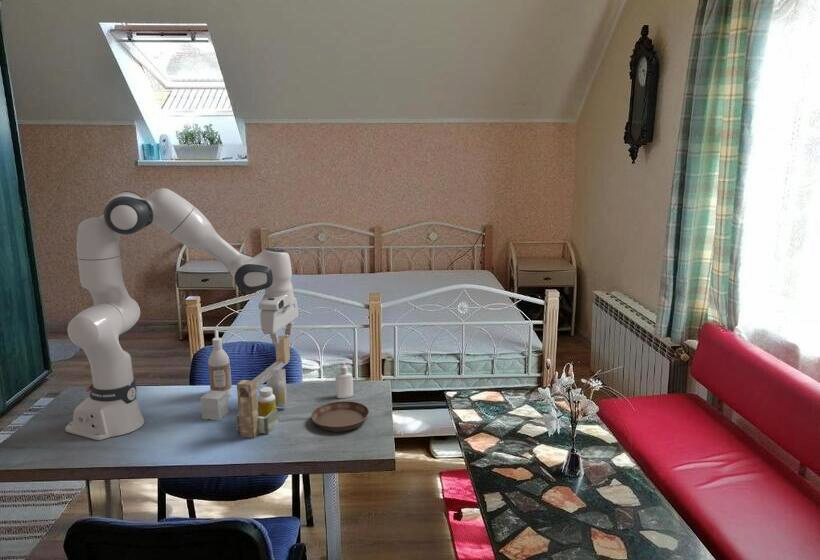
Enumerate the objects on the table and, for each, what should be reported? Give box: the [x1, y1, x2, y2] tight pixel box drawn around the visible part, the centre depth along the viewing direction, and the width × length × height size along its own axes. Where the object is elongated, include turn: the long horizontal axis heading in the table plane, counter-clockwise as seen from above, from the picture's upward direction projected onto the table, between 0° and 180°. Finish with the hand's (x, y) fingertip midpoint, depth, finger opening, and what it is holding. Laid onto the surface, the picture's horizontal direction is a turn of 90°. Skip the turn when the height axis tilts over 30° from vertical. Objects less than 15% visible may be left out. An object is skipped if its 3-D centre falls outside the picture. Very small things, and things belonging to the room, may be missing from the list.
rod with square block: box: [244, 335, 291, 408], centre depth 196 cm, size 6×26×21 cm, turn 166°
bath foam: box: [207, 337, 233, 397], centre depth 213 cm, size 7×7×20 cm
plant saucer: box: [311, 400, 370, 433], centre depth 194 cm, size 18×18×3 cm
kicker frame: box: [235, 379, 279, 439], centre depth 187 cm, size 10×10×17 cm
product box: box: [200, 389, 229, 421], centre depth 198 cm, size 6×6×7 cm
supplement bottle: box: [257, 386, 277, 417], centre depth 196 cm, size 5×5×10 cm
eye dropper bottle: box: [335, 362, 354, 399], centre depth 211 cm, size 4×6×12 cm
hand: (282, 339), depth 204 cm, fingers open, 8 cm apart
